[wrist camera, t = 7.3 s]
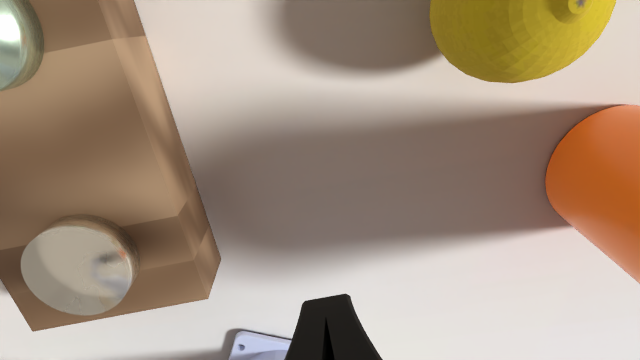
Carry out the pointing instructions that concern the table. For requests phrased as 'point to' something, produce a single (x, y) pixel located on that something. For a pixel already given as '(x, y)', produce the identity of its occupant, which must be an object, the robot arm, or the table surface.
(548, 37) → the lemon
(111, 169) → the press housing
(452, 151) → the table surface
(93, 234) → the silver knob
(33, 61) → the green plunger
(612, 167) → the shaker bottle
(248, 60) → the table surface
